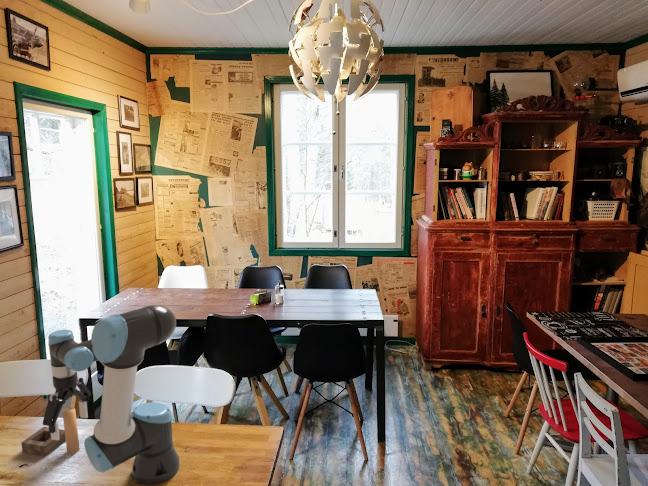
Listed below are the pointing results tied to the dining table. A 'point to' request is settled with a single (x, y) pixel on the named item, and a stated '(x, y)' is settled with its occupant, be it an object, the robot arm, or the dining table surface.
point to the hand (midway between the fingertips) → (70, 428)
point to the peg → (71, 430)
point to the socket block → (38, 446)
